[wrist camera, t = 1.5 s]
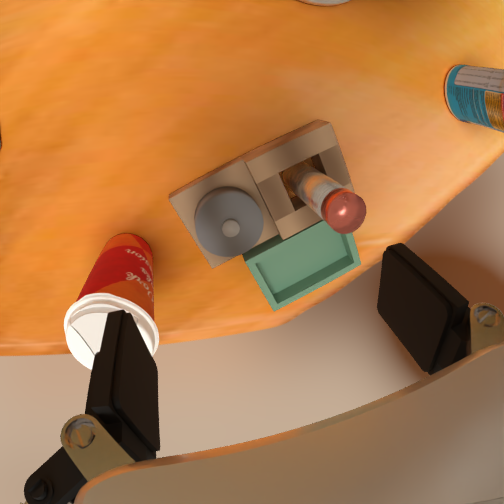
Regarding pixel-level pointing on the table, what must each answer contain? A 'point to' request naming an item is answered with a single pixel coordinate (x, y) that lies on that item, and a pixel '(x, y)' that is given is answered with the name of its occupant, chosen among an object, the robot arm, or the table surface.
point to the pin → (326, 197)
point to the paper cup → (113, 297)
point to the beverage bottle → (476, 95)
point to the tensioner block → (257, 194)
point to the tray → (301, 262)
